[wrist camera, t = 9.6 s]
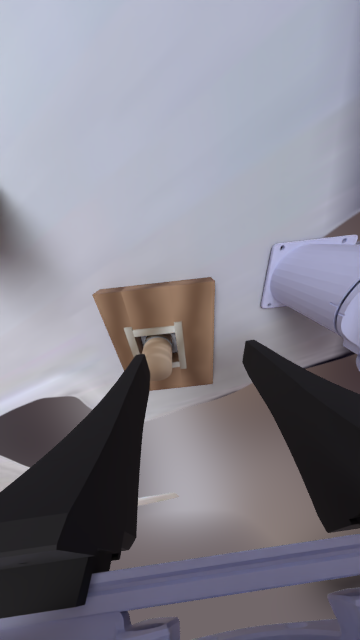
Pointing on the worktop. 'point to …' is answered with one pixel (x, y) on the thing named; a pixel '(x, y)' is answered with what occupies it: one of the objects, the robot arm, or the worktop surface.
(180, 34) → the worktop surface
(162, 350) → the peg
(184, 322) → the socket board
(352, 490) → the robot arm
